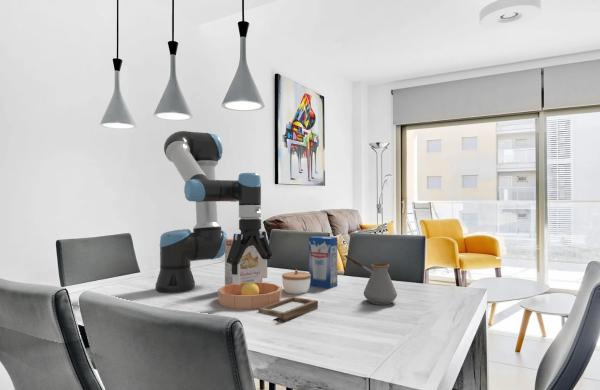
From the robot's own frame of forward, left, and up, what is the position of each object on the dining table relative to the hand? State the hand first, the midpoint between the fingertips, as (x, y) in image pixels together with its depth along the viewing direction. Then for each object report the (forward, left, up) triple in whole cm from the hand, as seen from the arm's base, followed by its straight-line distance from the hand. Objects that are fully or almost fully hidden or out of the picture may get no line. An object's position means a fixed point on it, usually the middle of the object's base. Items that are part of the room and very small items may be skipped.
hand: (250, 281), depth 137 cm
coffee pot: (+30, +29, -8) cm, 42 cm away
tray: (+16, 0, -8) cm, 18 cm away
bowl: (0, 0, -8) cm, 8 cm away
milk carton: (+5, +39, -8) cm, 40 cm away
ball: (0, 0, -7) cm, 7 cm away
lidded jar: (+5, +20, -8) cm, 22 cm away
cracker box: (-14, +12, -8) cm, 21 cm away
